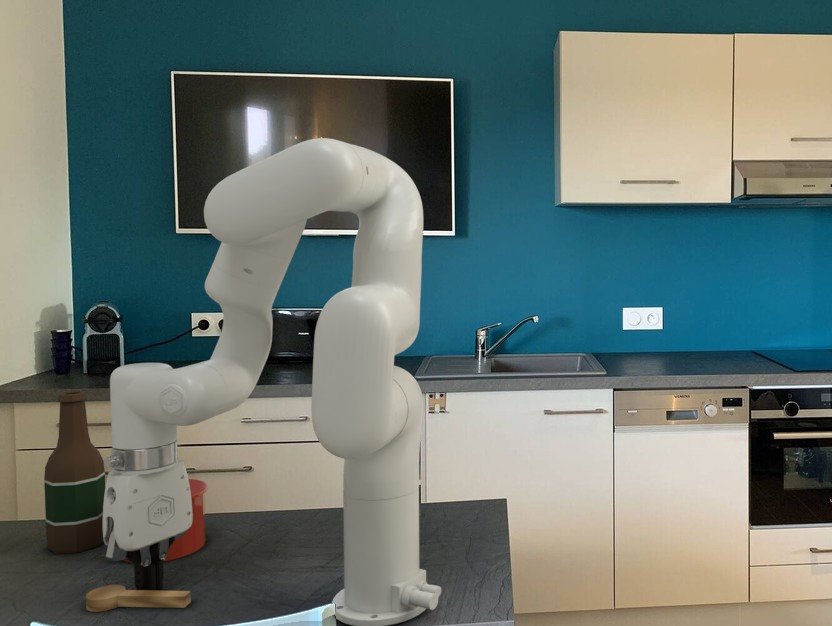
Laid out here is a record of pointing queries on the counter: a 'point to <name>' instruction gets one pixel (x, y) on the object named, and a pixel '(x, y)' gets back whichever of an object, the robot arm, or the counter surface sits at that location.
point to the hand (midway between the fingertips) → (149, 589)
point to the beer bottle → (74, 482)
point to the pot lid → (197, 488)
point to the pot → (190, 533)
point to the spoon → (134, 598)
